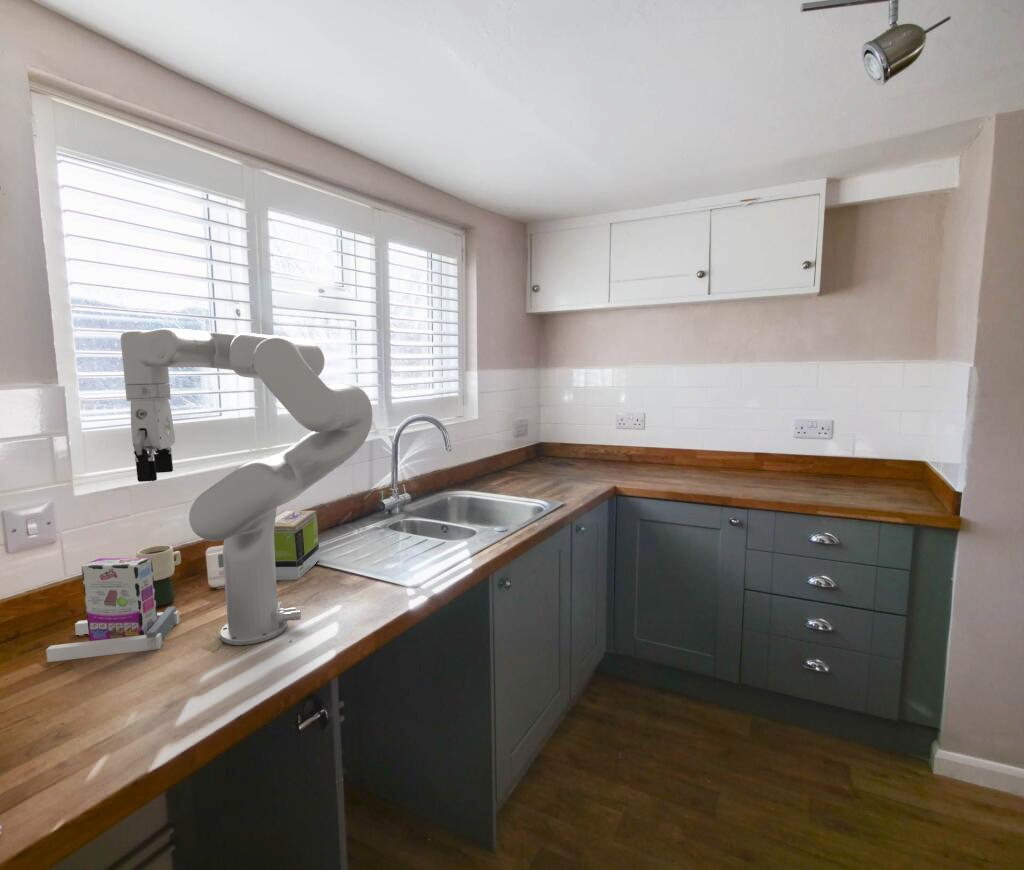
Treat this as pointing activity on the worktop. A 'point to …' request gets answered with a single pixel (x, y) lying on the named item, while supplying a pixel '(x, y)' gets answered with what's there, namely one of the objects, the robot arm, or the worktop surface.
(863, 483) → the worktop surface
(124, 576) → the candy bar box
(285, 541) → the tea box
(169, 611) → the channel
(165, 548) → the character mug
